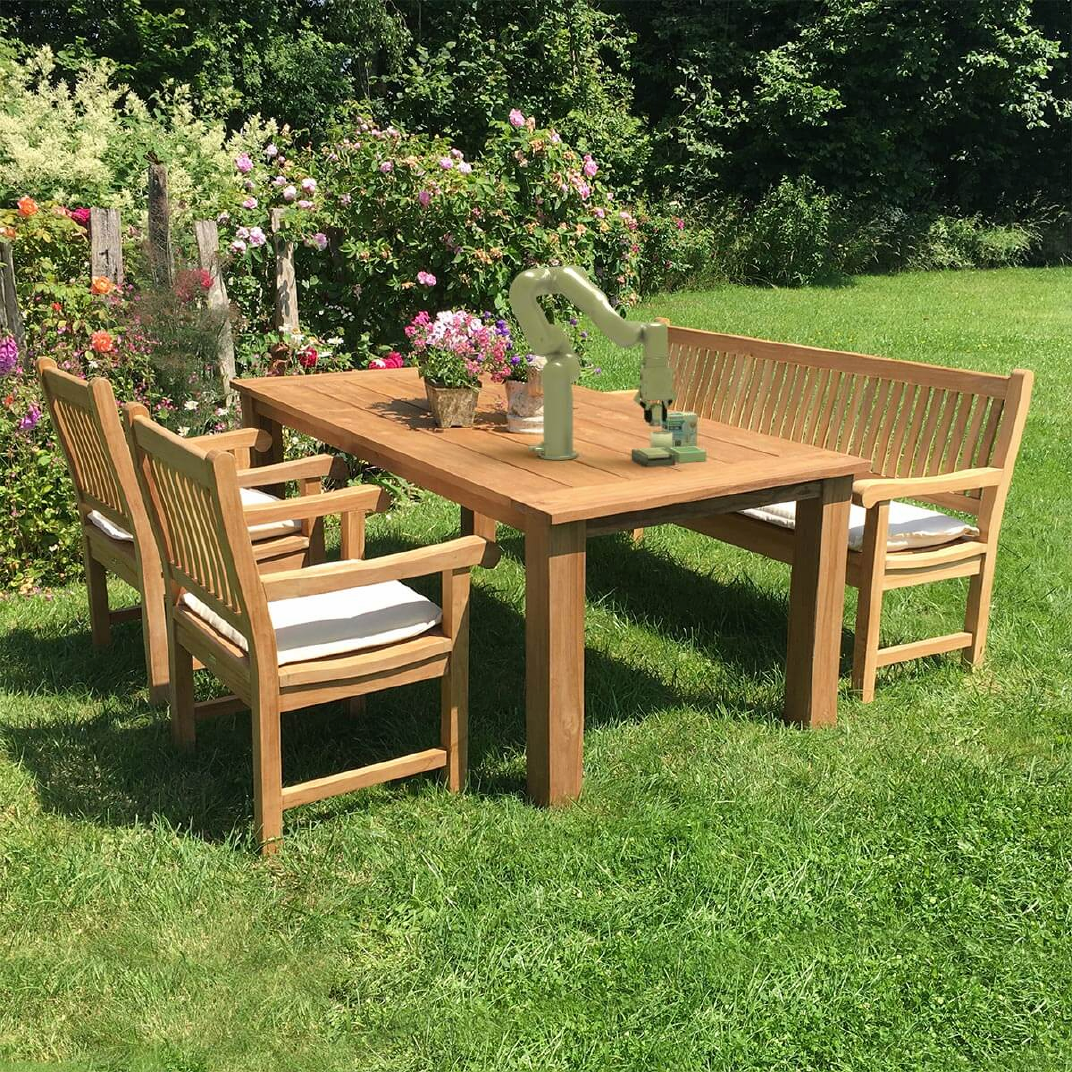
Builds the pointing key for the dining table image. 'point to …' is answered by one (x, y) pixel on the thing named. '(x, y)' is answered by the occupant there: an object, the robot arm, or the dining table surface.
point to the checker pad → (653, 452)
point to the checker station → (653, 459)
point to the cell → (656, 414)
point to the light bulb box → (682, 428)
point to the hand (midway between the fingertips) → (655, 421)
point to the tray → (688, 454)
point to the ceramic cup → (661, 439)
